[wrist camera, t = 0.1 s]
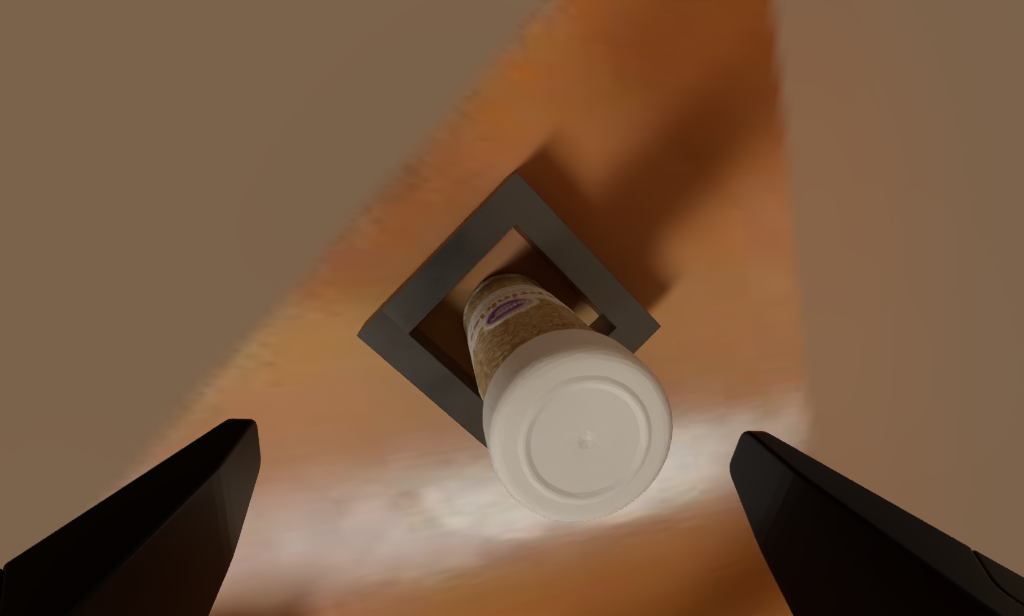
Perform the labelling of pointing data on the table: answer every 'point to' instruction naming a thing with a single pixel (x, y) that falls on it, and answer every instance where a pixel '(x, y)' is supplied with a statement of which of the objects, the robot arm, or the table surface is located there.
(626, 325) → the socket holder
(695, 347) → the table surface
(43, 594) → the robot arm
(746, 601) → the table surface
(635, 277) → the table surface
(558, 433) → the sprinkles bottle
